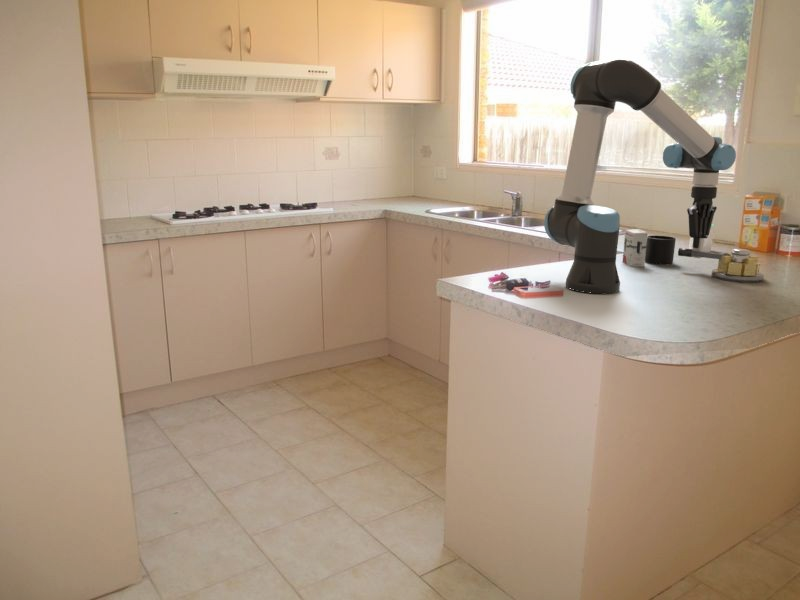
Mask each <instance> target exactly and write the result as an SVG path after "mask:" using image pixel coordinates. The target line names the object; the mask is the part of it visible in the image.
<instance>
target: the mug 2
mask: <svg viewBox="0 0 800 600" xmlns="http://www.w3.org/2000/svg"><path fill="white" fill-rule="evenodd" d="M714 229H715V224H713V223H712V224H711V228H710V232H709V235H708V237H707V238H704V242H703V249H702V252H712V245H713V240H714V239H713V238H714V232H715V231H714ZM688 249H693V238H691V237H690V236H689V247H688Z"/></svg>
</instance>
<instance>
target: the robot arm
mask: <svg viewBox="0 0 800 600" xmlns="http://www.w3.org/2000/svg"><path fill="white" fill-rule="evenodd" d="M570 93H571V94H572V98H573V99H574V103H573V108H574V109H575V111H576V113H577V114H576V120H575V125H574V131H573V134H572V141H571V146H570V150H569V156H568V161H567V166H566V169H565V170H566V171H565V177H564V181H563V186H562V191H561V194H559V195H558V196H557V197H555V200H554V206H552V207H551V208H550V209H549V210H547V212H546V214H545V216H544V219H543V221H544V222H543V226H544V231H545V234H547V236H548V238H550V240H552V241H553V242H555V243H558V244H559V245H562V246H564V245H565V246H569V247H571V248H574V255H573V256H574V257H573V262H572V265H571V266H570V267H571V268H570V269H569V272H568V274H567V277H566V280H565V287H566V286H567V287H568V288H571V289H574V290H578V291H584V292H591V293H590V294H594V293H609V294H616V293H618V292H619V291H620V289H621V288H620V287H621V281H620V276H619V273H618V268H617V253H618V244H619V236H620V227H621V224H620V222H621V220H620V219H621V216H620V213H619V212H618V211H617V210H615V209H613V208H611V207H610V208H609V207H607V206H601V205H595V203H594V201H593V200H592V192H593V188H594V183H595V177H596V172H597V168H598V163H599V159H600V158H599V157H600V154H601V149H602V148H601V147H602V143H603V140H604V139H603V138H604V134H605V131H606V130H605V129H606V124H607V118H608V117H609V116H610V115H611V114H613V113H614V111H615V106H616V102H617V103H618V102H619V103H622V104H625V105H627V106H628V107H630V108H631V109H632V110H634V111H636V112H637V111H641V112H642V113H643V114H644V116H646V117H647V118H649V119H650V121H652V122H653V123H654V124H655V125H657V126H658V128H660V129H661V130H662V131H663V132H664V133H665V134H667V135H668V136H669V138H671V139H673V141H675V142H676V143H670V144H668V145H667V146H666V147H665V148H664V150H663V151H662V161H663V164H664V165H665V166H666V167H667V168H671V169H672V168H673V169H679V168H680V169H693V175H692V185H693V186H692V187H691V192H690V197H691V198H692V199H693V202H692V207H688V208H686V212H687V215H688V235H689V238H690V237H691V238H693V251H702V249H703V242H704V238H707V237H708V235H709V232H710V228H711V224H713V220H714V215H715V213H716V211H717V209H718V208H717V206H714V205H713V199H716V198H717V192H718V187H717V186H718V185H719V175H720V171H726V170H729V169H730V168H731V167H732V166H733V165H734V163H735V162H736V159H737V152H736V149H735V148H734V146H733V145H731V144H727V143H723V139H722V137H720V136H712V135H711V134H710V133H709V132H708V131H707V130H706V129H705V128H703V127H702V126H701V125H700V124H699V123H698V122H697V121H696V120H695V119H694V118H693V117H692V116H691V115H689V114H688V112H686V111H685V110H684V109H683V108H682V107H681V106H680V105H679V104H678V103H677V102H676V101H675V100H673V99H672V97H670V96H669V95H668V94H667V93H666V92H665V91H664V90H663V89H662V83H661V81H659V80H658V79H657V78H656V77H655V76H654V75H653V74H652V73H650V72H649V71H648V70H647V69H646V68H644V67H643V66H641V65H640V64H638V63H636V62H634V61H633V60H630V59H627V58H622V57H618V58H616V57H615V58H611V59H604V60H595V61H591V62H588V63H585V64H583V65H581V66H580V67H579V68H578V69H577V70H576V71H575V72H574V74H573V76H572V79H571V81H570ZM691 258H694V259H695V258H696V259H702V258H703V257H695V256H692V257H691ZM567 287H566V288H567ZM568 288H567V289H568ZM571 289H570V290H571ZM574 290H573V291H574ZM578 291H577V292H578ZM584 292H583V293H584ZM615 292H616V293H615Z"/></svg>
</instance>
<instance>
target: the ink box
mask: <svg viewBox="0 0 800 600" xmlns="http://www.w3.org/2000/svg"><path fill="white" fill-rule="evenodd" d="M647 237H648V232H647V231H645V230H642V229H639V228H638V229H636V228H635V229H625V230H624V241H623V242H624V243H623V252H622V253H623V254H622V263H624V264H626V265H627V266H629V267H645V265H646V262H645V254H646V244H647Z"/></svg>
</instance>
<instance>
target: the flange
mask: <svg viewBox="0 0 800 600" xmlns="http://www.w3.org/2000/svg"><path fill="white" fill-rule="evenodd" d="M750 251H751V250H749V249H745V248H732V249H731V252H730V253H732V255H731V257H732V258H731V262H736V263H744V258H749V256H751V252H750ZM717 269H718V268H714V269H711V277H712V278H715V279H717V280H723V281H727V282H734V283H744V284H745V283H746V284H747V283H748V284H752V283H755V284H756V283H762V282H764V280H765V275H764V274H763V273H761V272H759V274H758V275H757V276H756V275H755V276H742V275H741V276H739V275H731V274H725V273H722V272H719V271H717Z"/></svg>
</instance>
